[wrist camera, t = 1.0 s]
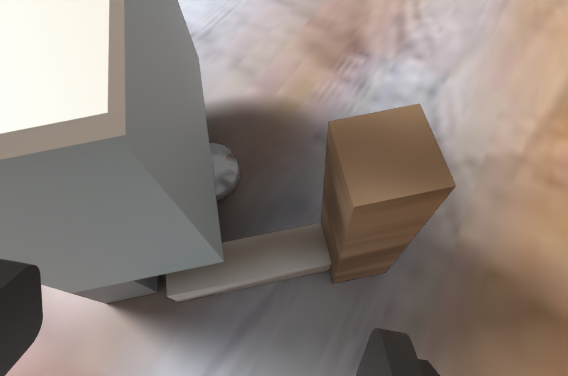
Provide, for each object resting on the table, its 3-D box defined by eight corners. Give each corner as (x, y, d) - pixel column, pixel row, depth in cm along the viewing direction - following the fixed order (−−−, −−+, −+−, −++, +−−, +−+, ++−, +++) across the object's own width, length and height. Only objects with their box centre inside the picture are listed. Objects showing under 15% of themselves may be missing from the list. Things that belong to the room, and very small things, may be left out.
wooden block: (385, 272, 28) (455, 186, 14) (179, 315, 28) (52, 268, 14) (369, 222, 30) (419, 103, 16) (175, 262, 29) (59, 175, 16)
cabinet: (253, 279, 28) (135, 107, 9) (99, 311, 28) (-345, 201, 9) (222, 86, 36) (127, -217, 17) (103, 109, 36) (-126, -173, 17)
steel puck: (198, 146, 34) (193, 136, 33) (249, 160, 33) (246, 151, 32) (173, 194, 32) (167, 186, 31) (227, 211, 31) (223, 203, 30)
